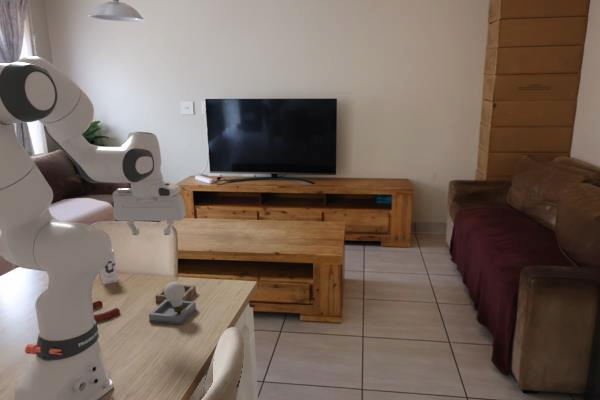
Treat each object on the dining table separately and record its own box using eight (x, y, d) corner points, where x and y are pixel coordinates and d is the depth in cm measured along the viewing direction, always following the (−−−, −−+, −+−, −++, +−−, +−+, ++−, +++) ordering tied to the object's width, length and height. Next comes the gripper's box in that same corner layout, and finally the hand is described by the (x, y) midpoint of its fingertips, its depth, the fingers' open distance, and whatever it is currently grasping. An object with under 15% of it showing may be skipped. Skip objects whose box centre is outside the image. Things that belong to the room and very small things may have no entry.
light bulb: (183, 318, 134) (176, 287, 131) (165, 317, 136) (158, 287, 133) (192, 307, 139) (186, 277, 136) (175, 307, 141) (169, 277, 138)
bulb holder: (182, 305, 144) (182, 298, 144) (155, 302, 146) (155, 295, 146) (195, 292, 153) (195, 285, 152) (170, 290, 155) (169, 283, 155)
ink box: (99, 277, 168) (95, 246, 165) (113, 274, 171) (109, 244, 168) (103, 285, 161) (99, 253, 158) (118, 281, 164) (114, 250, 161)
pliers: (35, 332, 130) (33, 324, 129) (100, 305, 146) (99, 298, 145) (56, 345, 124) (54, 336, 123) (121, 315, 140) (121, 307, 139)
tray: (180, 325, 132) (180, 317, 131) (149, 321, 134) (148, 314, 133) (195, 309, 141) (195, 301, 141) (166, 306, 143) (165, 299, 143)
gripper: (106, 190, 128) (112, 238, 132) (178, 190, 128) (182, 237, 131) (116, 186, 135) (121, 231, 138) (185, 186, 134) (188, 231, 137)
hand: (151, 234), depth 134 cm, fingers open, 8 cm apart
